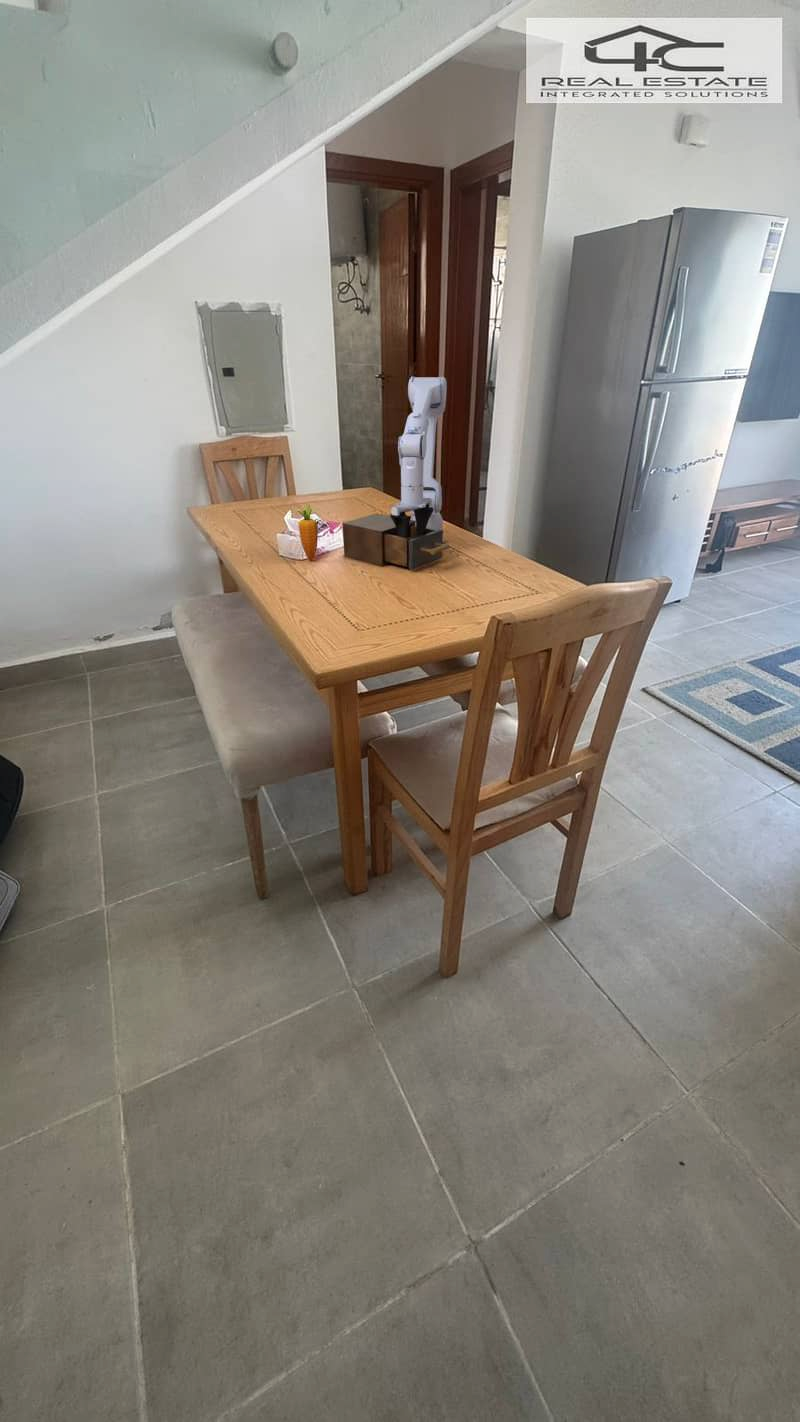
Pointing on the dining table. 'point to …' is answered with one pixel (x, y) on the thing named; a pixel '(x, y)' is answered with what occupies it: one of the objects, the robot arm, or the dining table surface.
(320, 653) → the dining table surface
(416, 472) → the robot arm
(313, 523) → the carrot
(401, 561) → the drawer
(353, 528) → the cabinet
